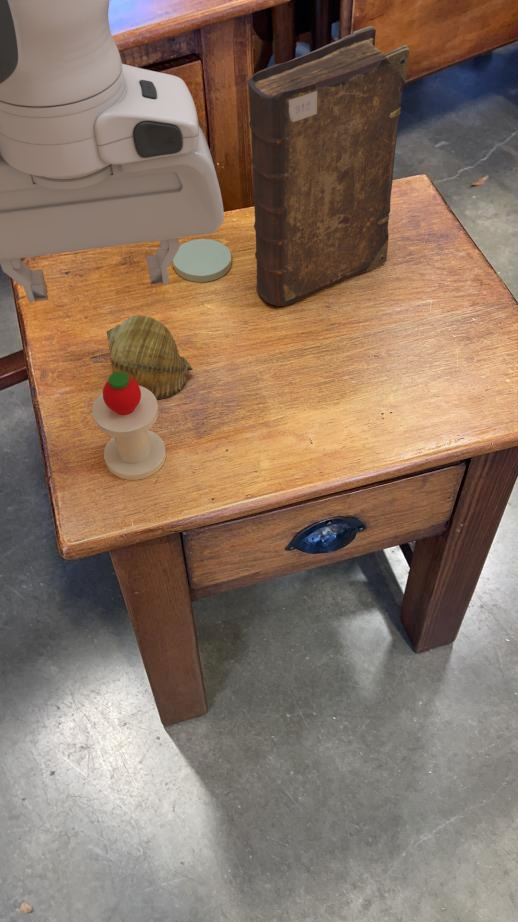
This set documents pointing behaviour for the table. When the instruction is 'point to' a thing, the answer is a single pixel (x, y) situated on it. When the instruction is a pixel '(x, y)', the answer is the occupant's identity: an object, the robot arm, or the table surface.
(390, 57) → the book
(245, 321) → the table surface
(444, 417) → the table surface
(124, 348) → the seashell
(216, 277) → the plate
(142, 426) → the stand
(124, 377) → the strawberry
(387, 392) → the table surface
